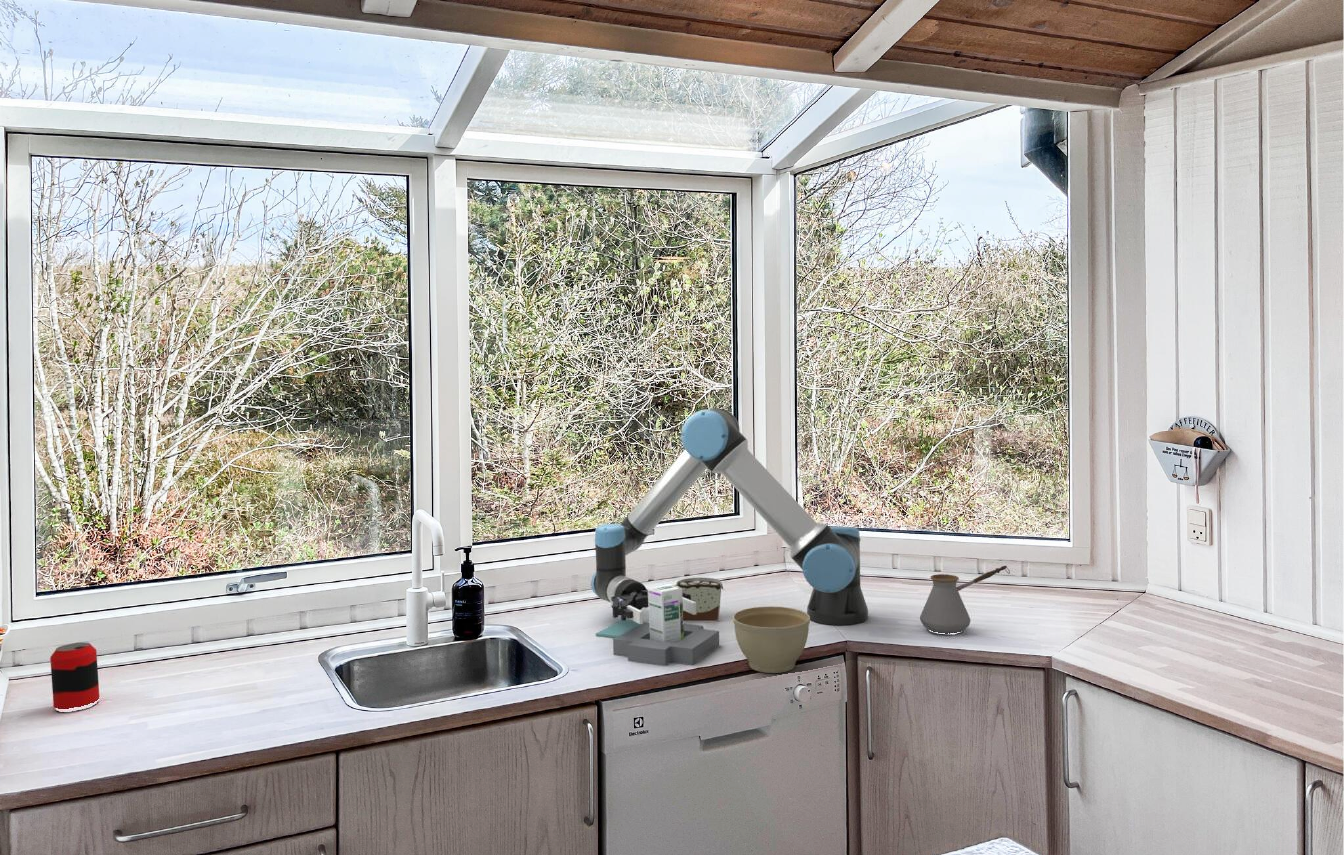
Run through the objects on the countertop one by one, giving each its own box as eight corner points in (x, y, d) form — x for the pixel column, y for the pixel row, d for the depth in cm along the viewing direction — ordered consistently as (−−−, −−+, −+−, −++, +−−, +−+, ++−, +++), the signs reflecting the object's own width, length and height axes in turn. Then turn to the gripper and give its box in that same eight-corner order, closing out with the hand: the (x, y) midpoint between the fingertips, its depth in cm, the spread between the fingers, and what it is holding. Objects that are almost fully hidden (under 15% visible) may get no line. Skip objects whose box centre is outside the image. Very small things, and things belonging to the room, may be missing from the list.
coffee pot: (929, 638, 204) (929, 574, 204) (913, 625, 216) (912, 564, 215) (1020, 634, 206) (1019, 570, 205) (999, 621, 217) (998, 560, 216)
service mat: (668, 627, 220) (668, 624, 220) (643, 641, 209) (643, 639, 209) (622, 621, 226) (622, 619, 226) (595, 635, 214) (595, 633, 214)
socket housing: (723, 642, 206) (723, 627, 206) (687, 668, 188) (686, 652, 188) (649, 633, 215) (648, 619, 214) (607, 657, 197) (607, 642, 197)
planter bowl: (731, 679, 181) (730, 626, 181) (736, 654, 197) (735, 605, 197) (811, 680, 179) (810, 627, 178) (810, 655, 195) (809, 606, 194)
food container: (725, 615, 230) (724, 576, 229) (724, 621, 224) (723, 582, 223) (677, 615, 231) (676, 577, 231) (675, 621, 225) (674, 582, 224)
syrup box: (664, 655, 197) (662, 591, 197) (649, 649, 202) (647, 586, 201) (684, 650, 201) (683, 587, 200) (669, 644, 206) (667, 582, 205)
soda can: (71, 715, 171) (67, 654, 171) (44, 710, 174) (40, 650, 173) (108, 701, 178) (104, 642, 178) (82, 697, 181) (78, 639, 180)
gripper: (673, 601, 224) (716, 621, 206) (581, 617, 213) (618, 638, 194) (672, 572, 224) (715, 588, 205) (580, 585, 212) (617, 604, 193)
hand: (668, 613), depth 199 cm, fingers open, 13 cm apart
